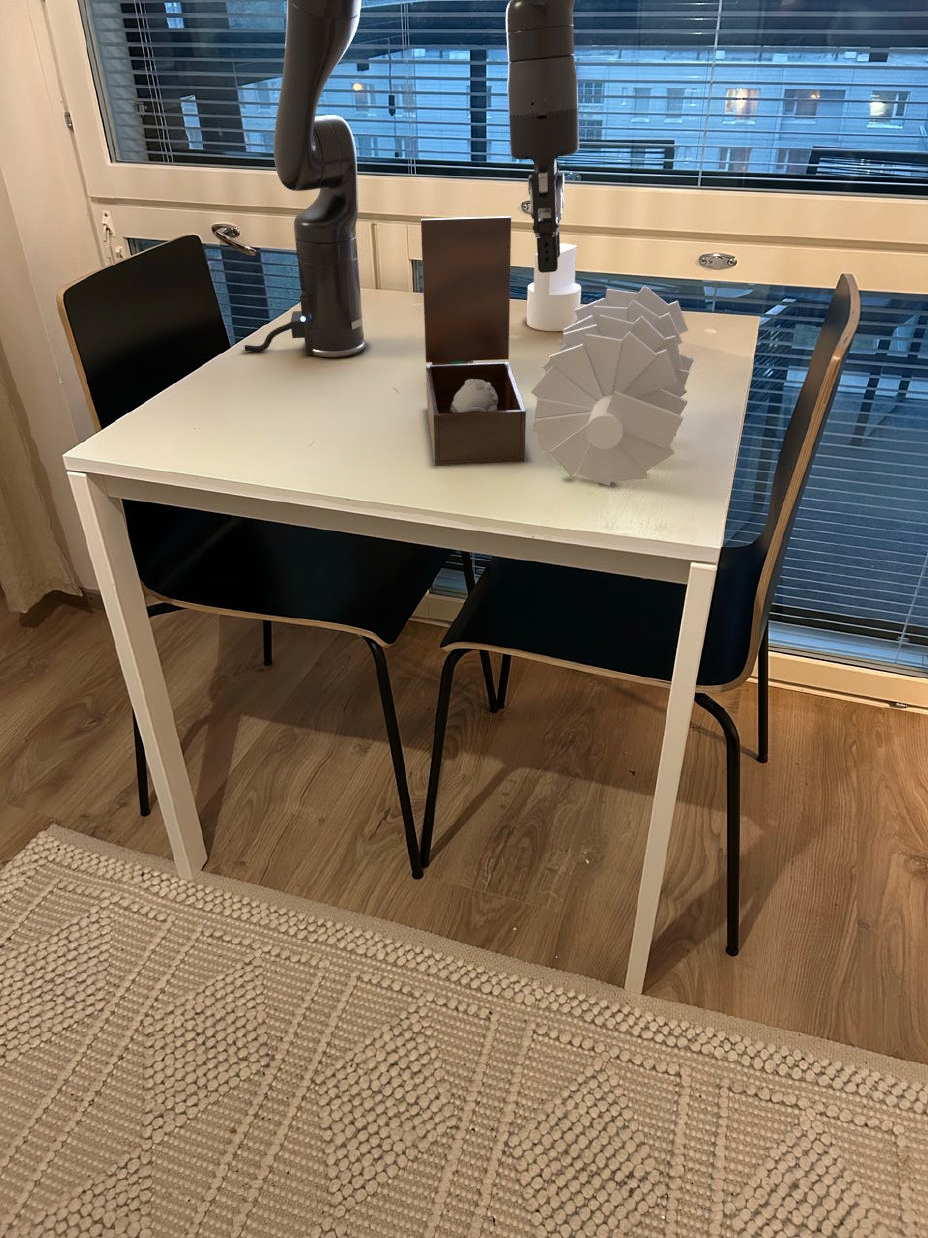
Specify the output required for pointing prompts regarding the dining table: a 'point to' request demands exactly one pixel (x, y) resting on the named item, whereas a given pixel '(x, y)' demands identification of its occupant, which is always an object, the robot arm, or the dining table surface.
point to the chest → (475, 416)
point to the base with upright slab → (554, 294)
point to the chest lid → (466, 288)
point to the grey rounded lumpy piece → (475, 397)
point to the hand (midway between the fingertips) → (549, 264)
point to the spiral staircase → (615, 388)
